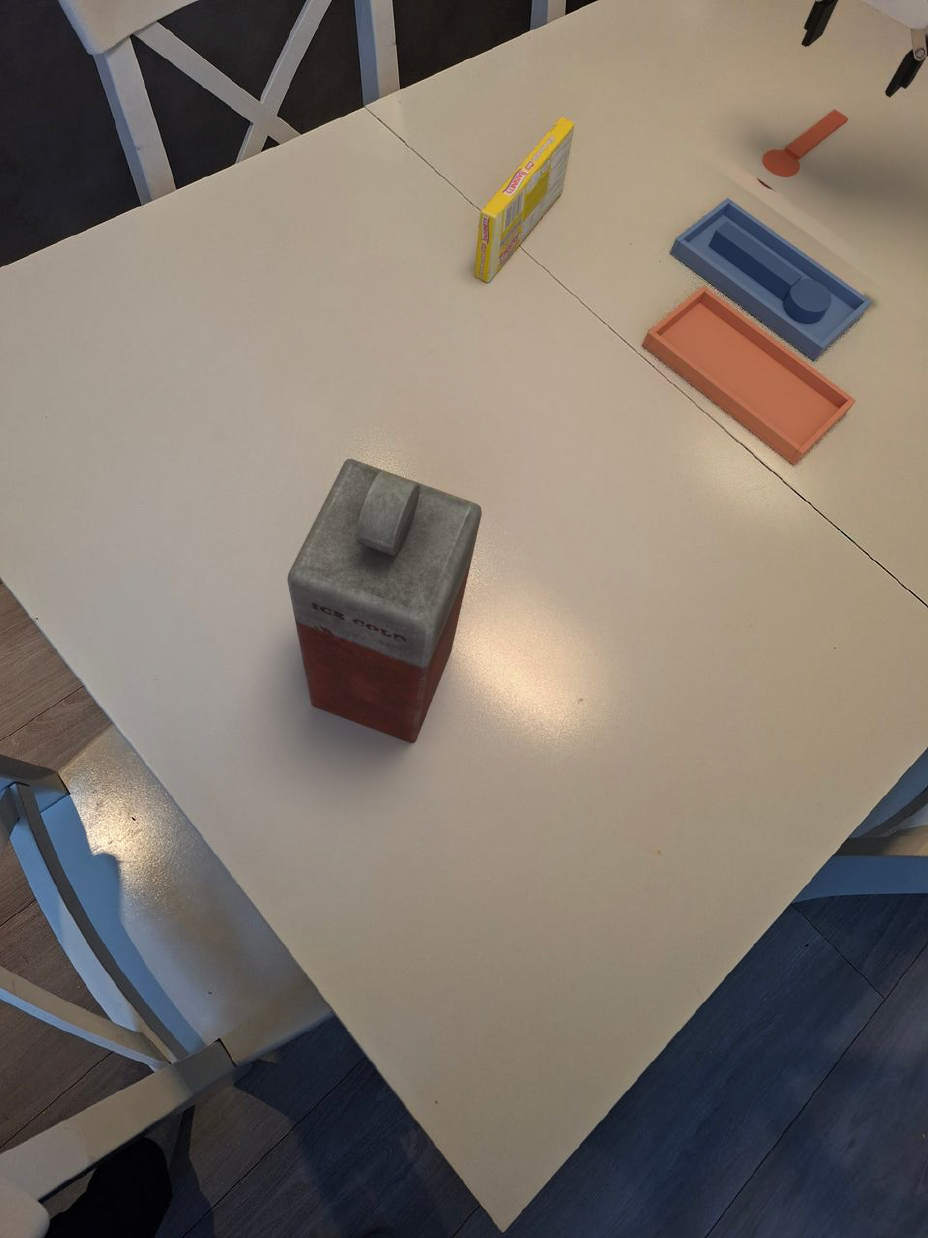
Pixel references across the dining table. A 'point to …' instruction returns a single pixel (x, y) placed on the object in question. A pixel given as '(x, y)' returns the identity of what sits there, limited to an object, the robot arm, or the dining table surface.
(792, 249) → the blue tray
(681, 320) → the terracotta tray
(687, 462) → the dining table surface
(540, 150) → the candy box
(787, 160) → the terracotta spoon
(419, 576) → the red grey lidded canister
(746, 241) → the blue spoon
